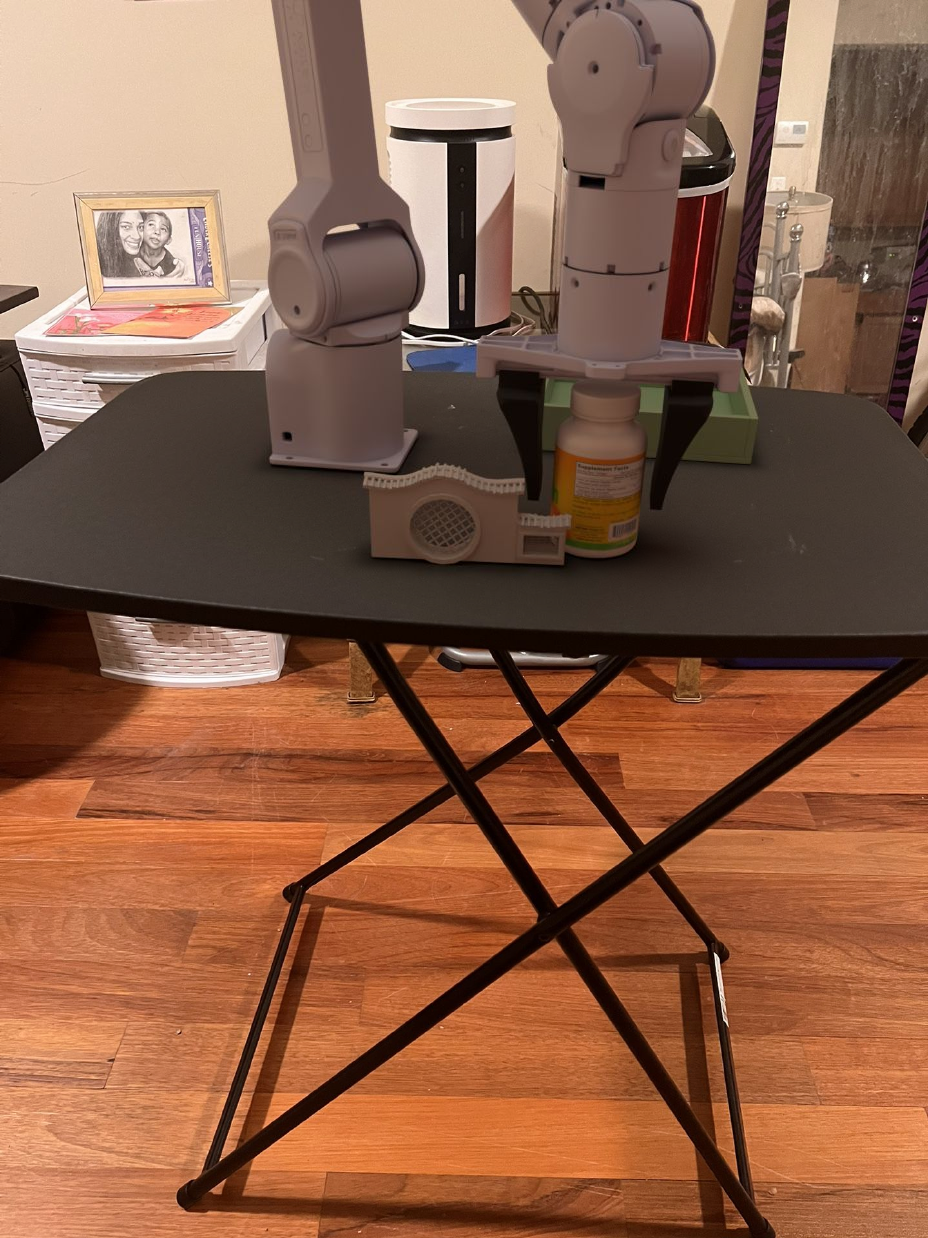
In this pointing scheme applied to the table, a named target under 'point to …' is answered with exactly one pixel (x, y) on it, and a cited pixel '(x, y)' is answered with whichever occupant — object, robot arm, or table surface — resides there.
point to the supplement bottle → (600, 469)
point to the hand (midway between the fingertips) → (594, 498)
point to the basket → (716, 441)
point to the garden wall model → (480, 497)
